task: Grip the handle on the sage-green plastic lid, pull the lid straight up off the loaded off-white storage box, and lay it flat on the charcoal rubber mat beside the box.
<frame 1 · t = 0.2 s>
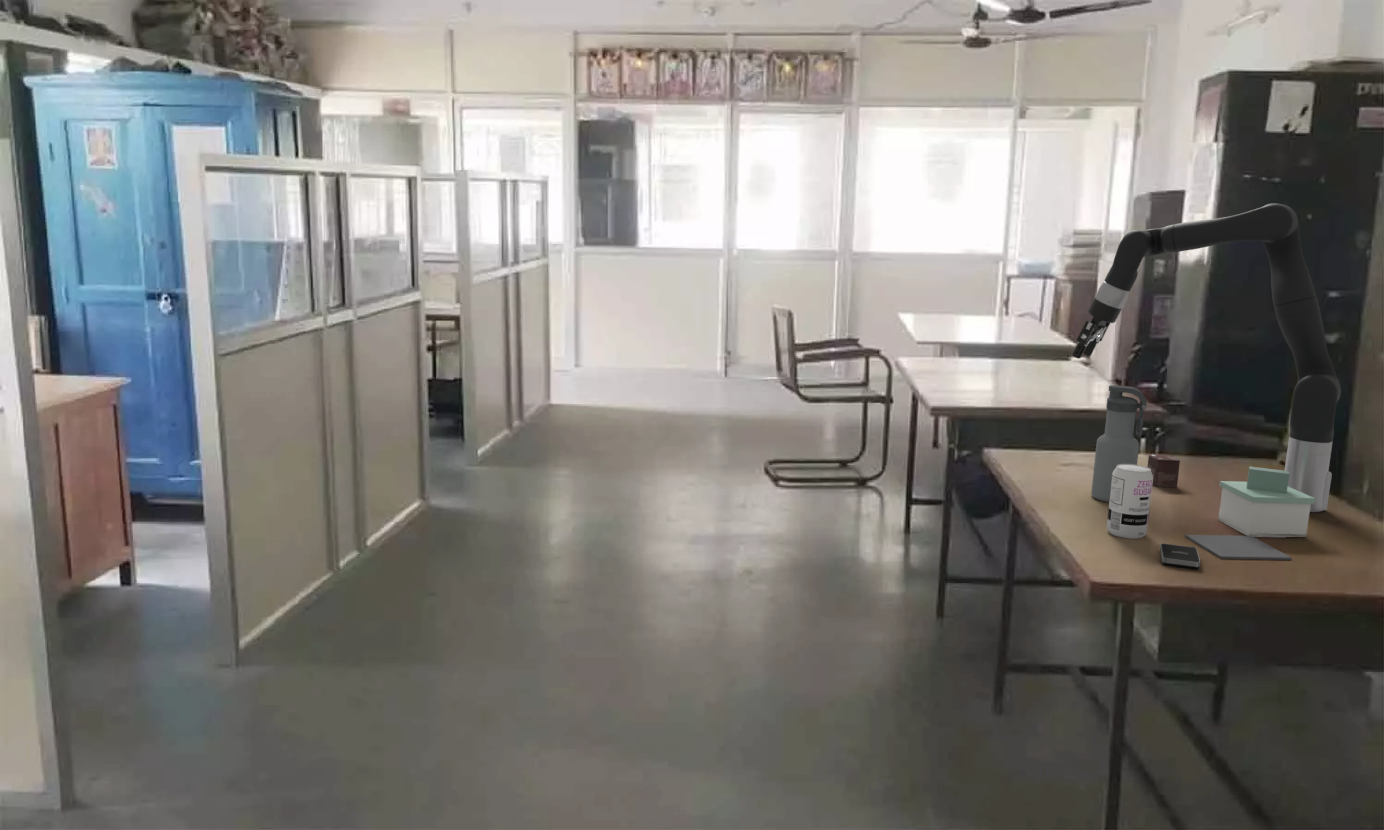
hand: (1081, 356, 294), 31 cm above the table, tool tilted 20°, fingers open, 8 cm apart
supplement can: (1126, 534, 240), on the table
mat: (1236, 548, 232), on the table
lid: (1265, 494, 246), point 8 cm above the table, touching storage box
storage box: (1261, 528, 247), on the table
water bottle: (1112, 499, 270), on the table
external hard drive: (1178, 563, 222), on the table
box: (1161, 485, 286), on the table
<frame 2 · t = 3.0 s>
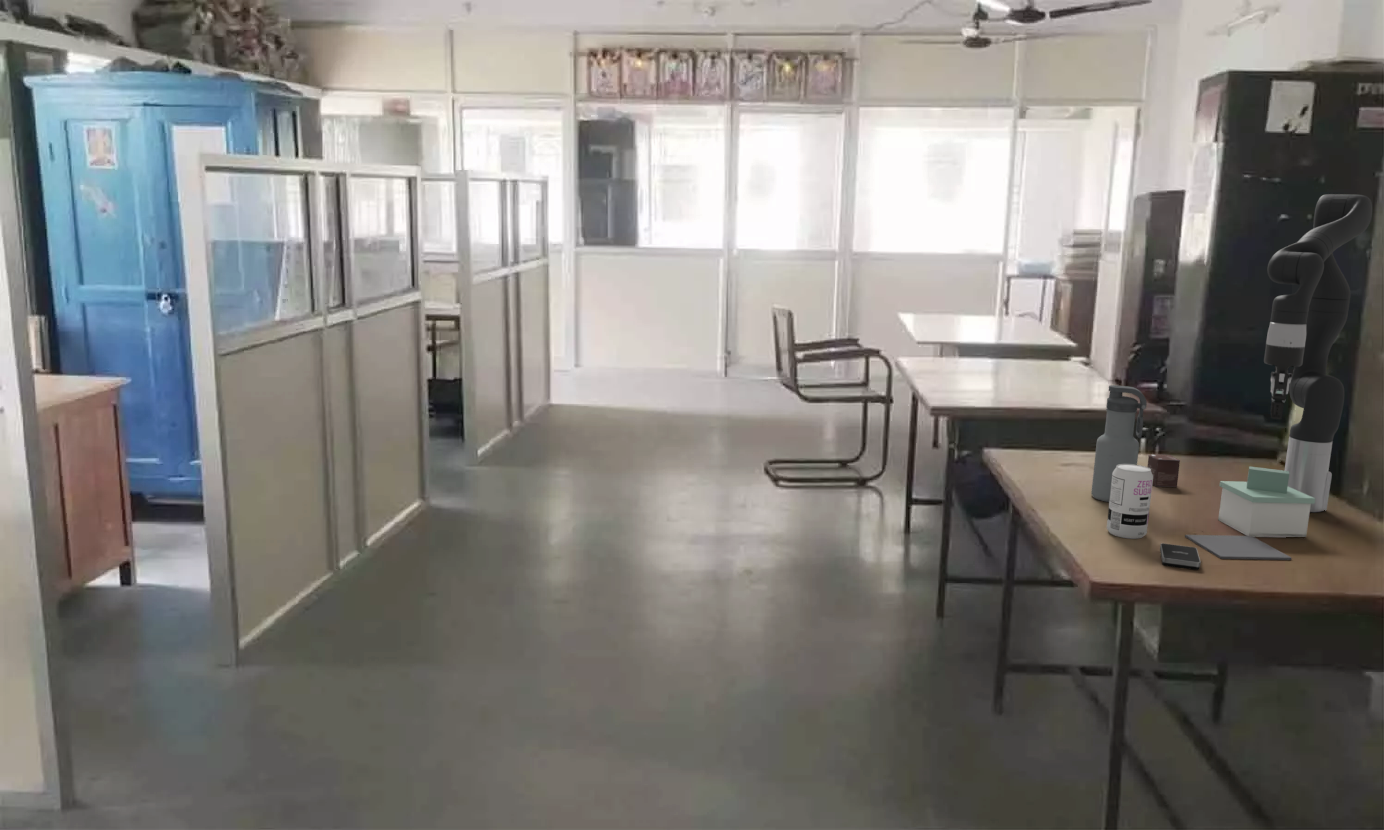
hand: (1275, 415, 242), 26 cm above the table, tool pointing down, fingers open, 8 cm apart
nothing on the table moved.
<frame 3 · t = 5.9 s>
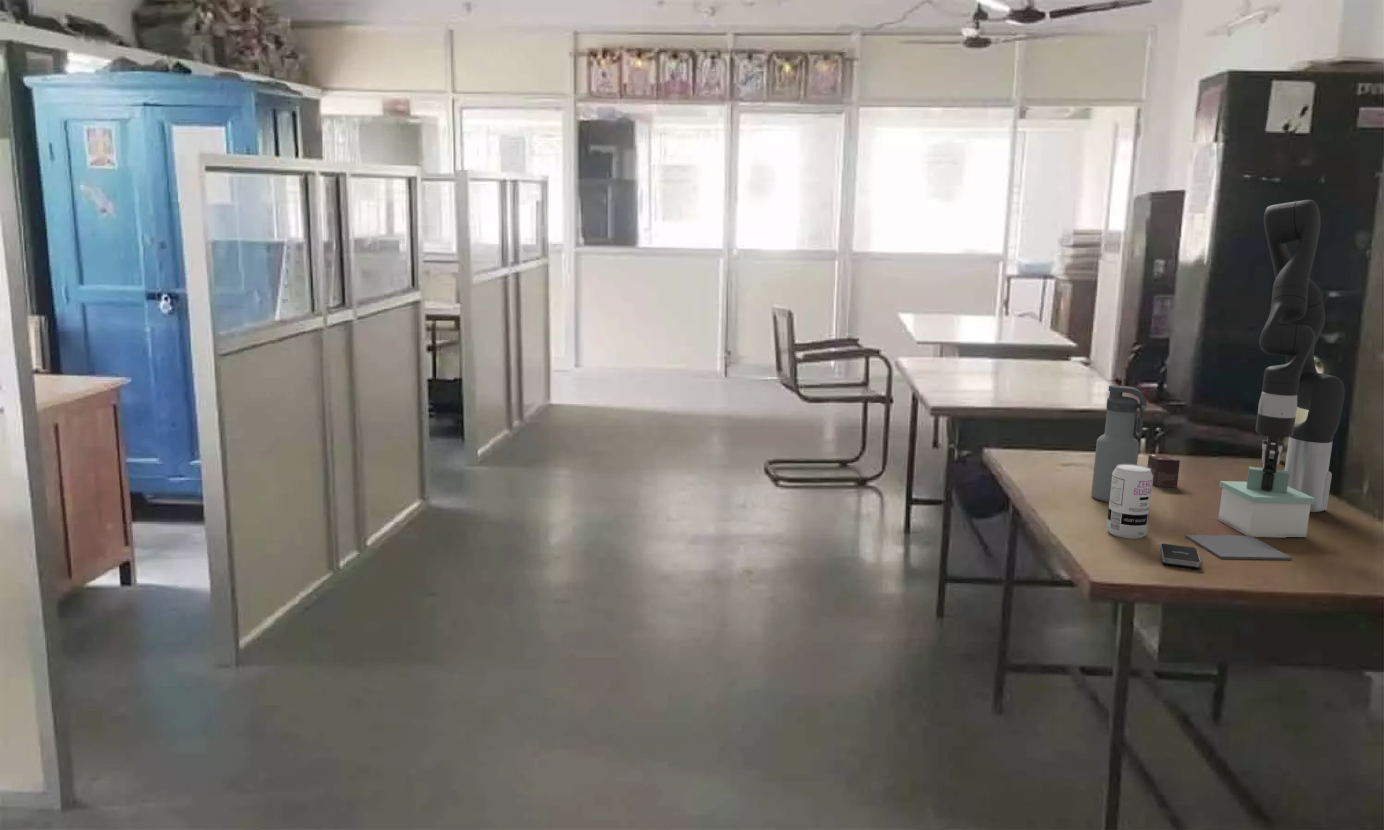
hand: (1266, 488, 245), 10 cm above the table, tool pointing down, fingers closed on lid, 3 cm apart
lid: (1265, 494, 246), point 8 cm above the table, touching gripper
everything else where it was.
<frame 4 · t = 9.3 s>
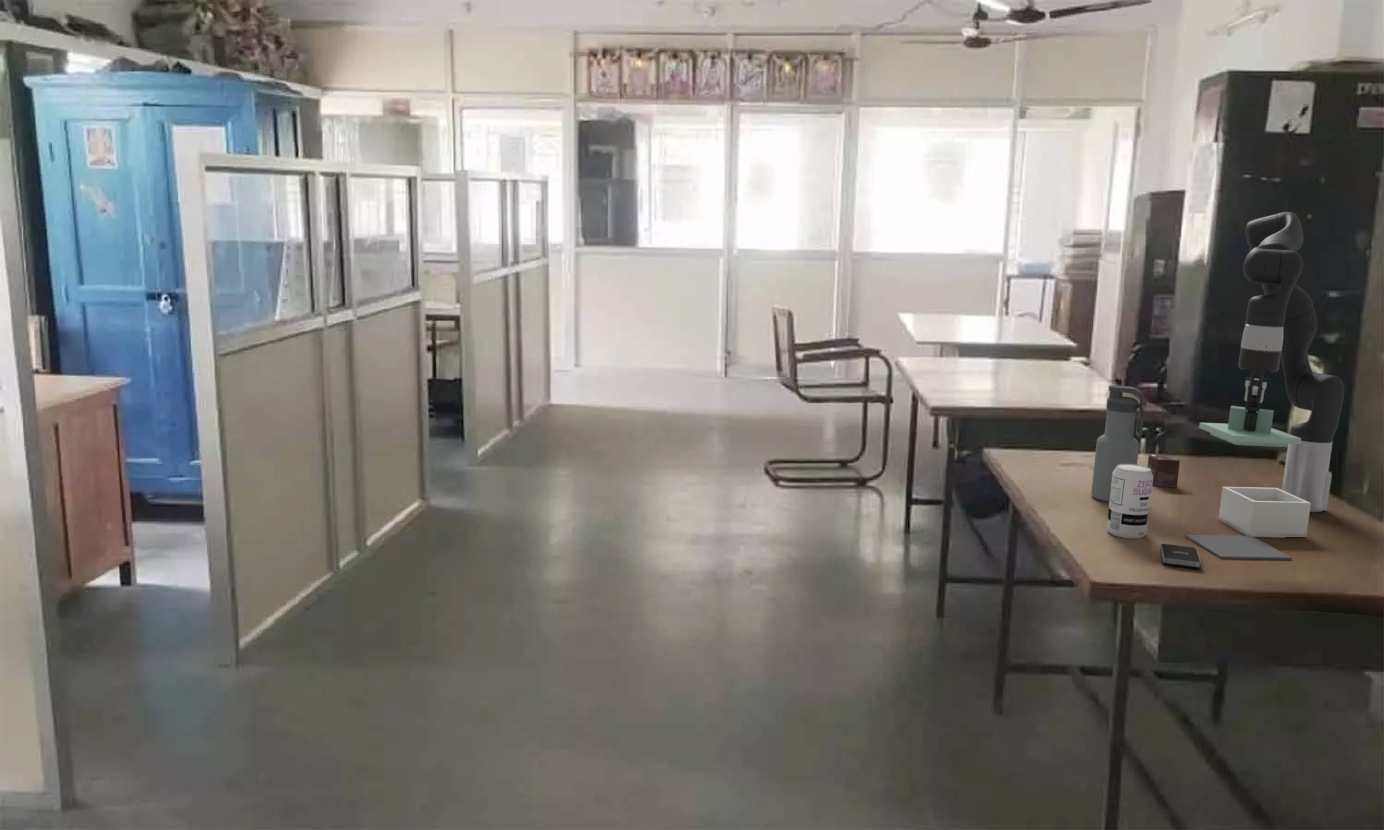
hand: (1249, 428, 228), 26 cm above the table, tool pointing down, fingers closed on lid, 3 cm apart
lid: (1248, 435, 228), point 24 cm above the table, touching gripper
everything else where it was.
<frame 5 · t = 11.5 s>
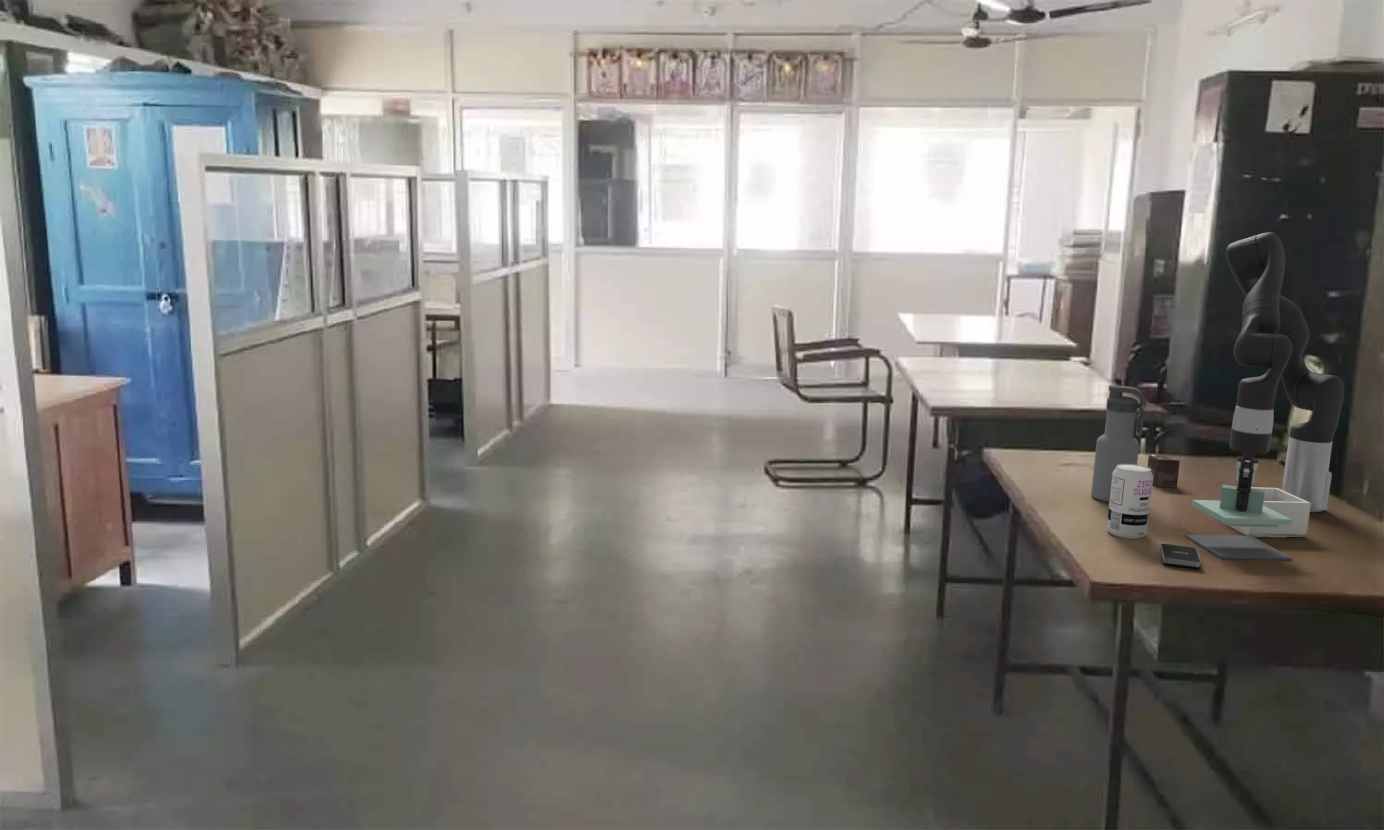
hand: (1241, 508, 230), 9 cm above the table, tool pointing down, fingers closed on lid, 3 cm apart
lid: (1239, 514, 230), point 7 cm above the table, touching gripper
everything else where it was.
when the fingers open (4 cm above the table, at t = 13.1 s): lid drops 1 cm, resting on mat.
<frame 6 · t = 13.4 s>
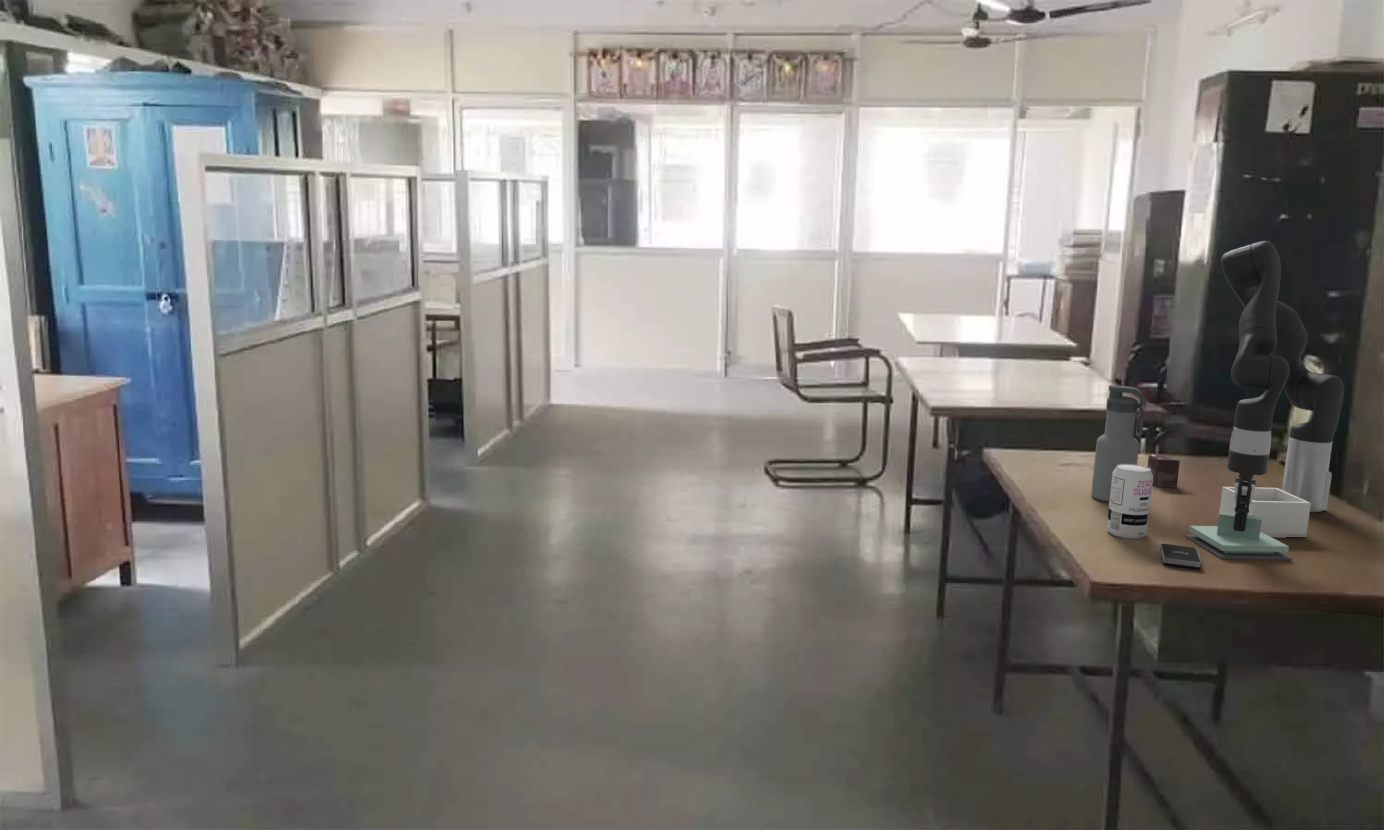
hand: (1239, 526, 231), 5 cm above the table, tool pointing down, fingers open, 6 cm apart
lid: (1237, 541, 232), point 1 cm above the table, touching mat
everything else where it was.
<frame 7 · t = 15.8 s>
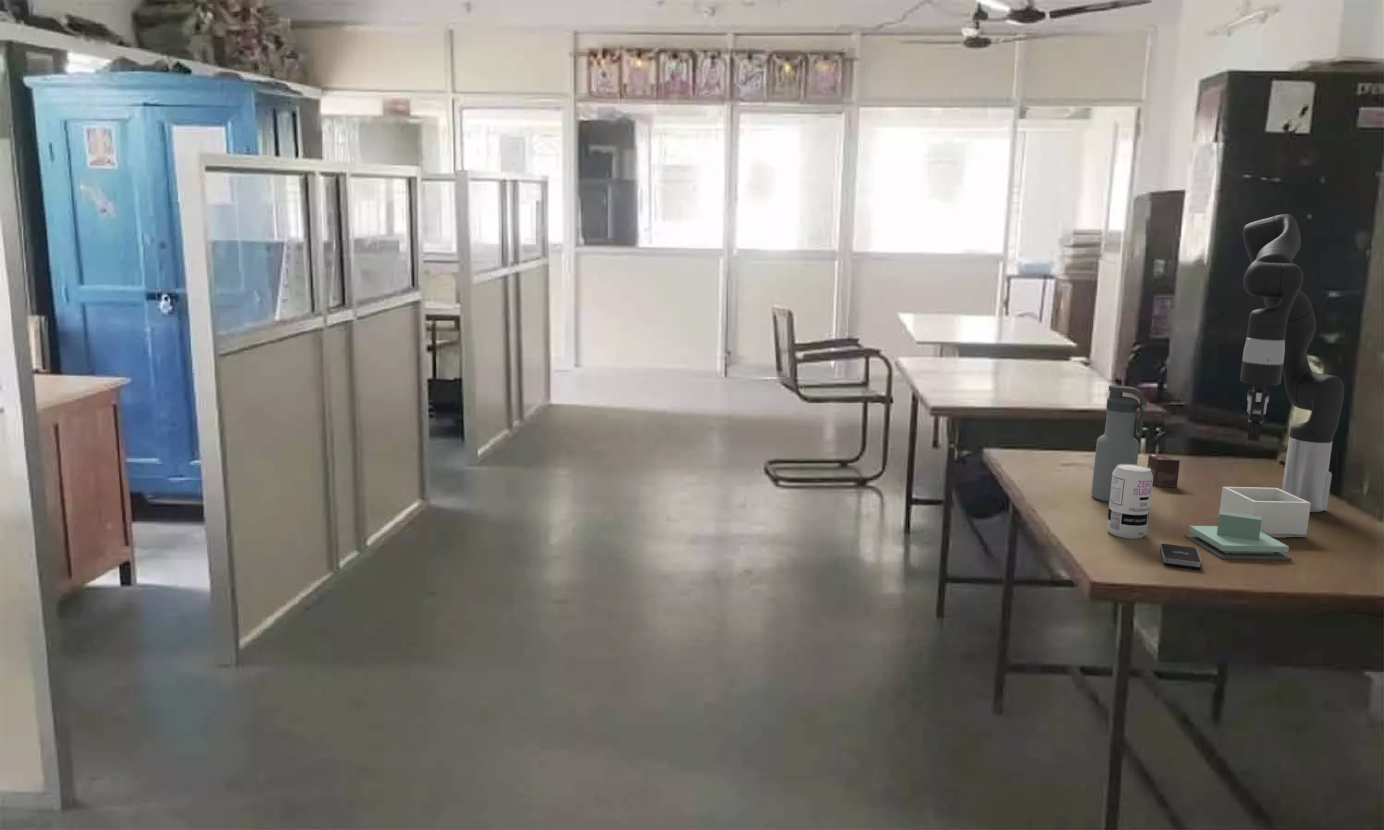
hand: (1253, 437, 228), 24 cm above the table, tool pointing down, fingers open, 8 cm apart
nothing on the table moved.
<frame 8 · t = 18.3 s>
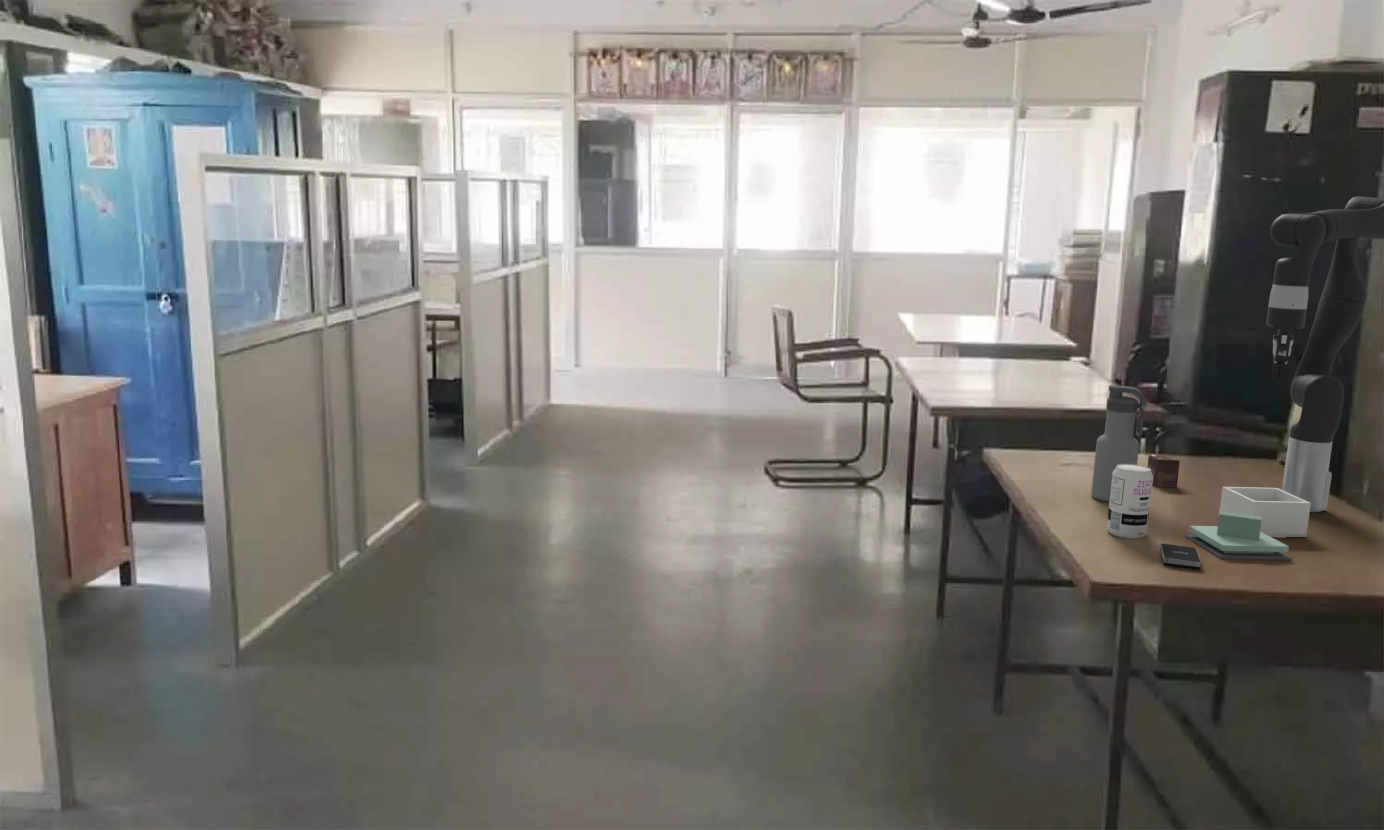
hand: (1277, 378, 244), 34 cm above the table, tool pointing down, fingers open, 8 cm apart
nothing on the table moved.
at the end: lid inside the target area on the mat (0.1 cm from its centre), point 1.5 cm above the mat's base; lid tilted 0°; the gripper is holding nothing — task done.
